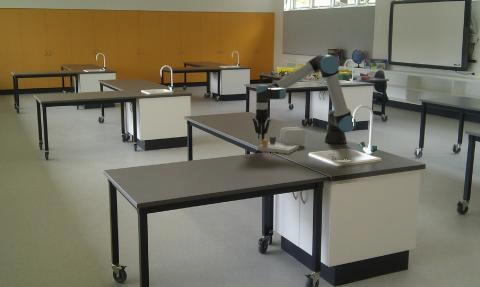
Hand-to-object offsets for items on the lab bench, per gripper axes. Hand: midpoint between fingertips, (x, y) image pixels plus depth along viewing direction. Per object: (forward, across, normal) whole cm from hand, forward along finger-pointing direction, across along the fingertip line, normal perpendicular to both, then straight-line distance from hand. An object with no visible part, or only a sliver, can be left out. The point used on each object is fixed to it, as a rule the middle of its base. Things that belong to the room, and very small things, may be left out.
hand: (261, 143), depth 352 cm
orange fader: (+1, +3, 0) cm, 3 cm away
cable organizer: (+4, +12, +24) cm, 27 cm away
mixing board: (+4, +10, +5) cm, 12 cm away
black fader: (+1, +3, +11) cm, 11 cm away
